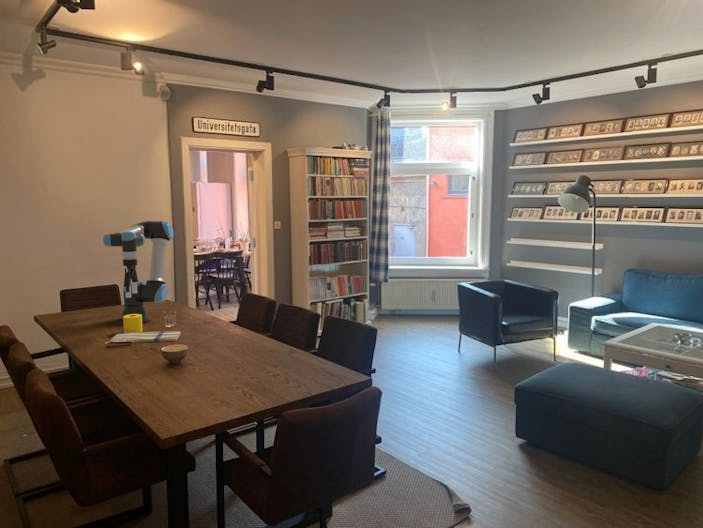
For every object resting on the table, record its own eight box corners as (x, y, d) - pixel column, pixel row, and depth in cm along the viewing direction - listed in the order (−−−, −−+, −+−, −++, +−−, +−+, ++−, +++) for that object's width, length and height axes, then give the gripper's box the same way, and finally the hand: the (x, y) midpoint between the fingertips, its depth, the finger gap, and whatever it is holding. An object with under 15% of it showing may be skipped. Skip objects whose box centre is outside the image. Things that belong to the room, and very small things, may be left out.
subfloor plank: (118, 335, 295) (118, 332, 295) (180, 333, 300) (180, 330, 300) (109, 343, 279) (109, 340, 279) (175, 341, 284) (175, 338, 284)
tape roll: (135, 334, 298) (135, 318, 297) (120, 333, 300) (119, 317, 298) (146, 330, 307) (145, 314, 306) (130, 329, 309) (130, 313, 308)
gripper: (128, 256, 310) (130, 291, 312) (116, 261, 285) (118, 299, 288) (142, 256, 311) (143, 291, 314) (131, 261, 286) (132, 299, 289)
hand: (131, 295), depth 301 cm, fingers open, 13 cm apart
